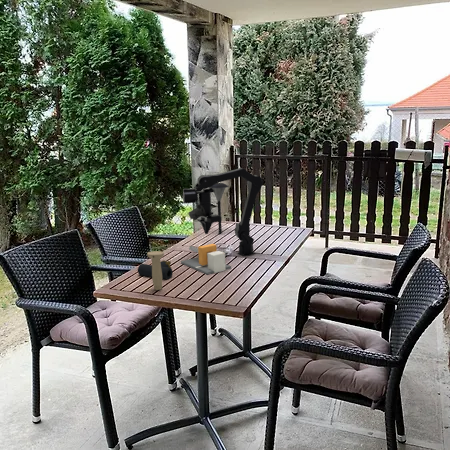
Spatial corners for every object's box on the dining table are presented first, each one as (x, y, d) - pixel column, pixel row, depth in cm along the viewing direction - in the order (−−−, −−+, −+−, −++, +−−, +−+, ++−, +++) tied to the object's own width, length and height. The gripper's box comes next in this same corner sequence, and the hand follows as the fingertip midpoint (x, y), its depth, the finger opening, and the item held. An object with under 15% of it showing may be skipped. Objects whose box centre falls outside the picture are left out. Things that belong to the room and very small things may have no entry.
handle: (152, 286, 181) (150, 251, 178) (167, 287, 180) (165, 251, 177) (148, 290, 177) (145, 254, 173) (163, 291, 175) (161, 254, 172)
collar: (213, 260, 207) (212, 243, 205) (217, 261, 204) (216, 244, 203) (198, 263, 202) (198, 246, 200) (202, 265, 200) (201, 248, 198)
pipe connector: (153, 257, 204) (180, 261, 196) (154, 268, 205) (181, 272, 198) (137, 265, 194) (165, 269, 187) (138, 276, 195) (166, 281, 188)
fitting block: (219, 267, 202) (218, 250, 200) (225, 270, 198) (224, 252, 196) (208, 270, 199) (207, 253, 197) (214, 273, 195) (213, 255, 193)
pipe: (193, 249, 214) (192, 245, 214) (218, 259, 198) (218, 254, 197) (189, 250, 213) (188, 246, 213) (214, 260, 197) (214, 255, 196)
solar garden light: (206, 233, 267) (204, 183, 261) (225, 230, 272) (223, 181, 266) (214, 237, 257) (212, 185, 250) (234, 234, 261) (232, 183, 255)
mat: (203, 257, 218) (203, 255, 218) (231, 268, 200) (231, 265, 200) (181, 263, 210) (180, 261, 210) (207, 274, 193) (207, 272, 193)
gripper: (180, 201, 215) (182, 233, 218) (201, 206, 200) (203, 240, 203) (199, 199, 221) (201, 229, 224) (221, 203, 206) (223, 236, 210)
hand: (206, 233), depth 215 cm, fingers closed
